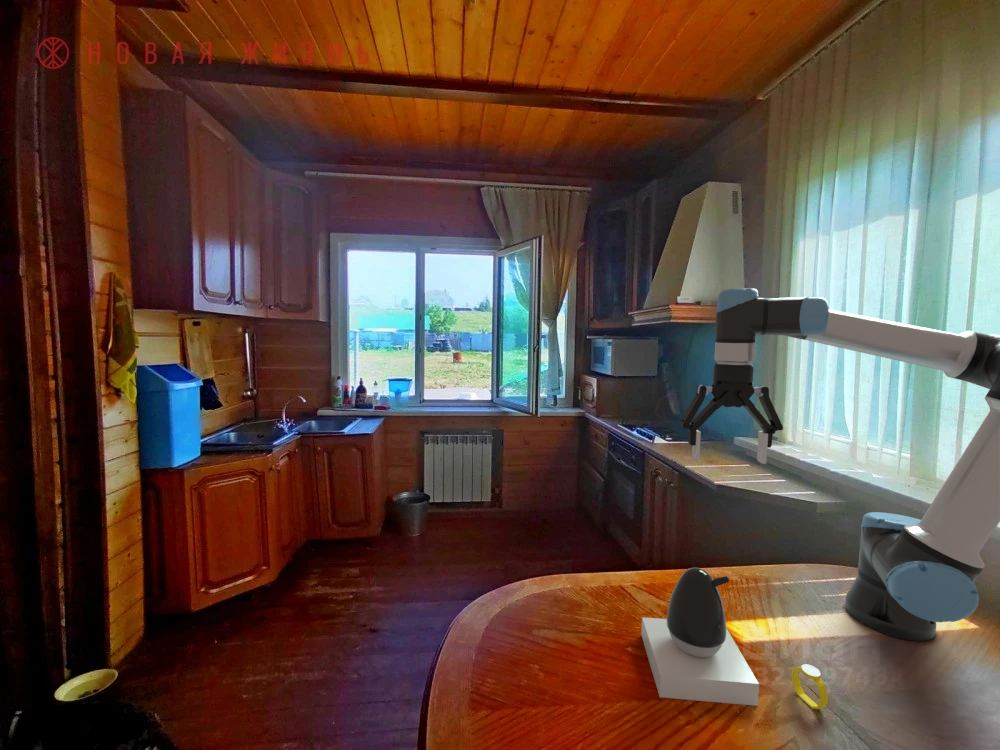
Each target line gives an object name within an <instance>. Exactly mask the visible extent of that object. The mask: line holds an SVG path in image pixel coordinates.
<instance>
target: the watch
mask: <svg viewBox="0 0 1000 750" xmlns="http://www.w3.org/2000/svg"><path fill="white" fill-rule="evenodd" d="M800 672H801V674H802V675H803V676H805V678H808V679H810V680H813V682H814V683H815V685H816V687H817V691H818V694H819V703H818V704H817V703H816V702H815V701H814V700H813V699H811V698H810V697H809V696H808V695H807V694H806V693H805V691H804V689H803V687H802V685H801V680H800ZM790 677H791V682H792V686H793V689H794V691H795V692H796V695H797V696H798V698H800V699H801V700H803V702H805V703H806V704H807V705H808V706H809V707H810V709H812V710H820V709H824V708H826V707H827V706H828V704H829V692H828V690H827V687H826V685H825V683H824V681H823V679H822V678H821V677H822V673H821V671H820V669H818V668H817V667H815V666H813V665H812V664H811V665H810V664H808V663H807V664H806V663H804V664H802V665H799V666H796V667H794V668H793V669H792V670H791V676H790Z"/></svg>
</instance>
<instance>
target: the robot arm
mask: <svg viewBox="0 0 1000 750" xmlns="http://www.w3.org/2000/svg"><path fill="white" fill-rule="evenodd" d="M715 314H716V315H715V318H716V319H715V343H714V358H713V359H714V361H715V362H717V363H715V364H713V376H712V378H713V379H712V385H711V386H706V385H703V384H700V383H699V384H698V385H697V387H696V392H695V396H694V397H693V398H692V400H691V402H690V404H689V405H688V407H687V409H686V411H685V413H684V414H683V416H682V418H681V420H680V421H679V425H680V426H681V427H683V428H685V429H687V430H688V435H687V436H688V437H687V439H688V440H687V442H688V445H690V446H692V448H691V449H692V450H691V459H692V460H693V461H694V462H696V463H699V462H700V457H701V455H700V453H701V438H702V437H701V434H702V431H700V430H698V429H700V427H702V425H703V424H704V423H705V422H706V421H708V420H709V418H710V417H711V416H712V415H713V414H714V413H715V412H716V411H717V410H718V409H720V408H721V407H724V408H731V407H735V408H741V407H743V408H744V409H745V410H746V411H747V412H748V414H749V415H750V416H751V417H752V418H753V420H754V421H755V422H756V423H757V424H758V425H759V427H760V428H761V429H762V430H758V437H757V449H756V450H757V453H756V461H758V462H759V463H760V464H762V465H767V459H768V448H770V449H771V447H772V446H773V435H774V434H776V432H777V431H778V432H779V431H783V430H784V426H783V424H782V422H781V420H780V417H779V415H778V414H777V413H778V412H777V411H776V409H775V406H774V405H773V402H772V400H771V398H770V389H769V387H768V386H764V385H761V384H760V385H758V386H755V387H754V386H753V381H754V370H755V369H754V365H753V364H752V363H753V362H755V351H756V350H755V349H756V336H758V335H760V336H765V335H766V336H785V337H789V338H793V339H798V340H805V341H808V342H812V343H813V342H814V343H817V344H821V345H822V344H823V345H827V346H831V347H834V348H835V347H836V348H839V349H840V348H841V349H845V350H849V351H853V352H858V353H862V354H866V355H870V356H871V355H872V356H876V357H881V358H885V359H888V360H894V361H896V362H903V363H906V364H911V365H916V366H921V367H924V368H931V369H935V370H938V371H942V372H943V374H944V375H945V377H947V378H950V379H956V380H960V381H962V382H966V383H971V384H973V385H976V386H980V387H983V388H986V389H988V391H987V393H986V394H985V396H984V399H985V401H986V403H987V405H988V406H989V412H988V413H987V415H986V416H985V418H984V420H983V421H982V423H981V424H980V426H979V428H978V429H977V430H976V432H975V434H974V435H973V437H972V438H971V441H970V442H969V443H968V445H967V447H966V449H965V450H964V452H963V453H962V455H961V456H960V458H959V459H958V461H957V463H956V464H955V465H954V467H953V468H952V470H951V472H950V474H949V475H948V477H947V478H946V480H945V481H944V484H942V487H941V488H940V490H939V491H938V493H937V494H936V496H935V497H934V499H933V501H932V502H931V504H930V505H929V507H928V508H927V510H926V512H925V514H924V515H923V516H922V518H921V519H918V518H916V517H912V516H907V515H902V514H897V513H890V512H883V511H882V512H881V511H880V512H879V511H873V512H872V511H871V512H867V513H865V514H864V515H863V517H862V523H861V524H860V527H861V530H860V531H861V532H860V541H859V543H860V545H859V555H858V556H859V557H858V565H857V566H858V567H857V575H856V577H855V579H854V581H853V583H852V585H850V586H851V587H850V588H849V590H848V592H847V593H846V595H845V605H844V606H845V609H846V611H847V612H848V614H850V616H851V617H853V618H854V619H855V620H856V621H858V622H859V623H861V624H862V625H864V626H866V627H868V628H870V629H872V630H875V631H877V632H879V633H882V634H883V635H887V636H891V637H893V638H897V639H901V640H905V641H911V642H912V641H914V642H923V641H924V642H926V641H930V640H933V638H934V637H935V636H936V633H937V623H946V622H947V623H948V622H949V623H950V622H952V623H954V622H958V621H962V620H963V619H966V618H968V617H970V616H971V615H972V614H973V613H974V612H975V611H976V609H977V607H978V606H979V603H980V602H979V601H980V597H979V596H980V595H979V593H978V588H977V586H976V584H975V581H976V580H977V579H978V577H979V576H980V575H981V573H982V572H983V570H984V568H985V566H986V564H985V563H984V560H983V559H982V556H981V554H980V552H981V551H982V549H983V547H984V546H985V544H986V543H987V541H988V540H989V538H990V537H991V535H992V533H994V531H995V529H996V528H997V527H998V525H999V523H1000V334H990V333H982V332H976V331H972V330H966V331H964V332H961V333H959V334H957V333H954V332H948V331H942V330H938V329H933V328H928V327H922V326H916V325H913V324H907V323H902V322H896V321H890V320H886V319H882V318H876V317H870V316H865V315H860V314H854V313H851V312H845V311H840V310H835V309H834V310H833V309H830V307H829V302H828V300H827V299H826V298H824V297H818V296H817V297H813V296H812V297H811V296H803V297H802V296H799V297H778V298H774V297H773V298H767V297H760V295H759V291H758V290H757V288H752V287H750V288H749V287H748V288H745V287H743V288H742V287H741V288H727V289H723V290H721V291H720V292H719V293H718V295H717V303H716V312H715ZM710 393H711V395H712V396H713V397H712V399H710V401H709V402H708V404H707V405H706V406H705V407H704V408H703V409H702V410H701V411H700V412H699V413H698V411H699V409H700V408H701V406H702V404H703V402H704V401H705V398H706V397H707V396H708V395H709V394H710ZM754 394H755V396H756V397H758V400H759V402H760V404H761V407H762V408H763V410H764V413H765V415H766V417H767V419H768V420H767V419H766V418H765V417H764V416H763V414H761V412H760V411H759V410H758V408H757V407H756V406H755V404H754V403H753V402H752V400H751V397H752V396H753V395H754ZM697 413H698V414H697ZM696 414H697V415H696ZM768 421H769V422H768Z"/></svg>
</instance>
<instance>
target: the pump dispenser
mask: <svg viewBox="0 0 1000 750" xmlns="http://www.w3.org/2000/svg"><path fill="white" fill-rule="evenodd" d="M727 583H728V584H729V583H730V577H728V576H727V575H725V576H720V577H715V578H713V577H712V576H711V574H710V573H709V572H708V571H707V570H705V569H703V568H700V567H690V568H688V569H686V570H685V571H684V572H683V573H682V574H681V576H680V577H679V579H678V580H677V582H676V583H675V586H674V589H672V593H671V595H670V596H671V597H670V599H669V602H668V603H669V604H668V608H667V612H666V613H667V614H666V619H667V627H668V629H669V632H670V635H671V637H672V639H673V641H674V642H675V644H676V645H677V646H678V647H679V648H680V649H681V650H683V651H684V652H686V653H688V654H690V655H692V656H696V657H709V656H712V655H714V654H715V653H717V652H718V651H719V649H720V648H721V646H722V644H723V643H724V641H725V639H726V628H727V624H726V623H727V622H726V614H725V607H724V605H723V601H722V597H721V593H720V591H719V589H718V587H719V586H723V585H725V584H727Z"/></svg>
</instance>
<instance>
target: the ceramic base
mask: <svg viewBox="0 0 1000 750" xmlns="http://www.w3.org/2000/svg"><path fill="white" fill-rule="evenodd" d="M640 635H641V638H642V641H643V645H644V649H645V652H646V655H647V656H646V657H647V658H648V662H649V665H650V670H651V672H652V676H653V678H654V679H653V680H654V682H655V685H656V688H657V693H658V696H659V698H663V699H664V698H666V699H676V700H688V701H698V702H699V701H700V702H709V703H710V702H711V703H721V704H722V703H723V704H733V705H744V706H757V707H758V706H759V695H760V694H759V692H760V691H759V689H760V683H759V681H758V680H757V678H756V676H755V675H754V673H753V671H752V669H751V668H750V665H749V664H748V663H747V661H746V659H745V657H744V655H743V654H742V652H741V651H740V648H739V647H738V644H737V643H736V642H735V640H734V639H733V637H732V635H731V633H730V632H729V630H728V628H727V627H726V639H725V641H724V643H723V644H722V646H721V648H720V649H719V651H718V652H717V653H715V654H714V655H712V656H709V657H696V656H692V655H690V654H688V653H686V652H684V651H683V650H681V649H680V648H679V647H678V646H677V645H676V644H675V642H674V641H673V639H672V637H671V635H670V632H669V629H668V627H667V618H659V617H658V618H657V617H655V618H654V617H652V618H651V617H641V634H640Z"/></svg>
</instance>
